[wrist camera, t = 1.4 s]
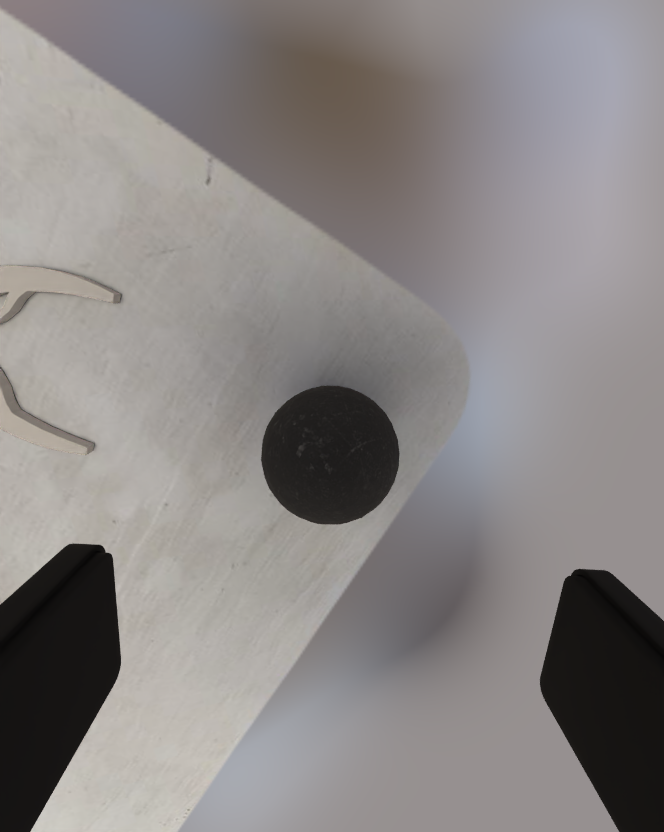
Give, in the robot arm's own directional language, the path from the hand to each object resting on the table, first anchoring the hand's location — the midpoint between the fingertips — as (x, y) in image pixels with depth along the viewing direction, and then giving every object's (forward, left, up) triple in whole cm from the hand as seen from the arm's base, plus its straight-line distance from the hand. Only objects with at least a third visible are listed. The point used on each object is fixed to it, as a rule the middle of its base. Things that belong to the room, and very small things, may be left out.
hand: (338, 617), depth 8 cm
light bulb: (0, 0, -16) cm, 16 cm away
